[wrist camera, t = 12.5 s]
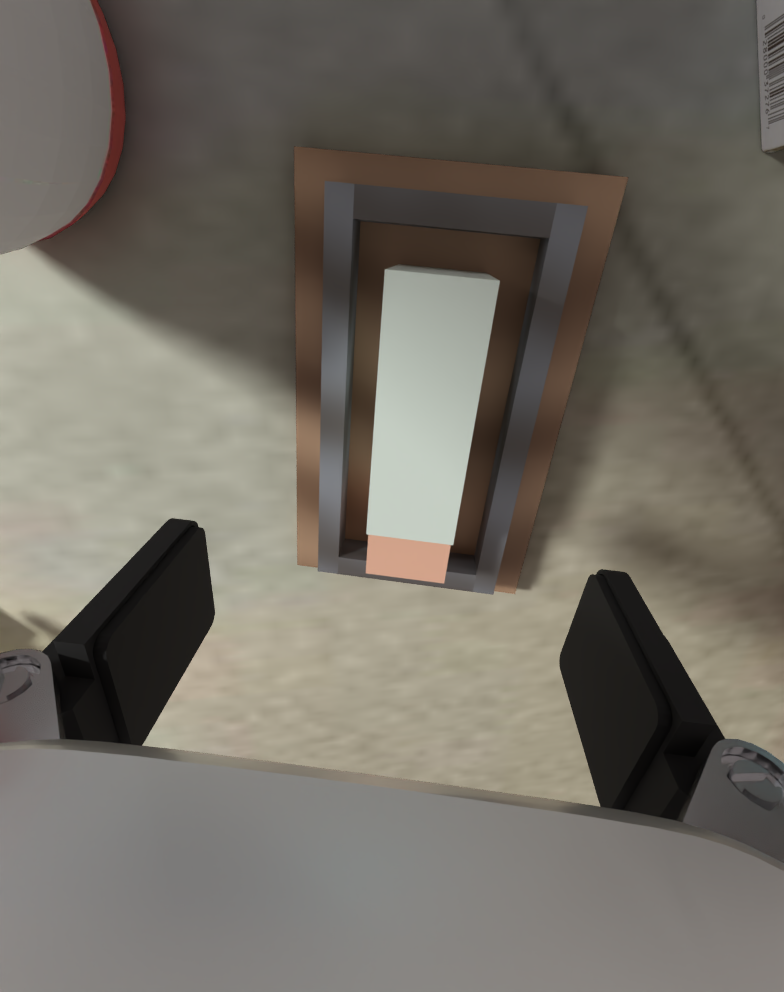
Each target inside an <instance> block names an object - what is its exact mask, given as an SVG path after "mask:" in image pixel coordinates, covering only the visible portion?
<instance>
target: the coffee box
mask: <svg viewBox="0 0 784 992" xmlns="http://www.w3.org/2000/svg"><path fill="white" fill-rule="evenodd" d="M756 5H757V34H758V62H759V89H760V118H761V141H762V151H764V152H765V153H773V152H776V151H780V150H783V149H784V0H756Z"/></svg>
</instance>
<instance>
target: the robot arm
mask: <svg viewBox="0 0 784 992" xmlns="http://www.w3.org/2000/svg"><path fill="white" fill-rule="evenodd" d="M214 615H215V608H214V600H213V593H212V585H211V577H210V569H209V561H208V553H207V545H206V537H205V531H204V529H203V528H199V527H198V524H197V522H195V521H190V520H182V519H173V518H172V519H169V520H168V521H167V522H166V523H165V524H164V525H163V526H162V527H161V528H160V529H159V530H158V531H157V532H156V533H155V534H154V535H153V536H152V537H151V538H150V540H149V541H148V542H147V543H146V544H145V545H144V546H143V547H142V548H141V549H140V550H139V551H138V552H137V553H136V554H135V555H134V556H133V557H132V558H131V559H130V561H129V562H128V563H127V564H126V565H125V566H124V567H123V568H122V569H121V570H120V571H119V572H118V573H117V574H116V575H115V576H114V577H113V578H112V579H111V580H110V581H109V582H108V583H107V584H106V586H105V587H104V588H103V589H102V590H101V591H100V592H99V593H98V594H97V595H96V596H95V597H94V598H93V599H92V600H91V601H90V602H89V603H88V604H87V605H86V606H85V608H84V609H83V610H82V611H81V612H80V613H79V614H78V615H77V616H76V617H75V618H74V619H73V620H72V621H71V622H70V623H69V624H68V625H67V626H66V627H65V628H64V630H63V631H62V632H61V633H60V634H59V635H58V636H57V637H56V638H55V639H54V640H53V641H52V642H51V643H50V644H49V645H48V646H47V647H46V648H45V649H44V651H43V652H41V651H38V650H33V649H16V650H12V651H8V652H4V653H0V992H784V764H783V763H782V762H781V761H780V760H779V759H777V758H776V757H774V756H773V755H772V754H770V753H769V752H767V751H766V750H764V749H762V748H760V747H758V746H756V745H754V744H752V743H749V742H745V741H742V740H739V739H725V738H724V736H723V734H722V733H721V731H720V729H719V727H718V726H717V724H716V722H715V720H714V719H713V717H712V715H711V714H710V712H709V710H708V708H707V707H706V705H705V703H704V702H703V700H702V698H701V696H700V695H699V693H698V691H697V690H696V688H695V686H694V684H693V683H692V681H691V679H690V678H689V676H688V674H687V672H686V671H685V669H684V667H683V666H682V664H681V662H680V660H679V659H678V657H677V655H676V654H675V652H674V650H673V648H672V647H671V645H670V643H669V642H668V640H667V639H666V637H665V636H664V635H663V633H662V632H661V630H660V628H659V626H658V625H657V623H656V621H655V619H654V618H653V616H652V614H651V613H650V611H649V609H648V607H647V606H646V604H645V602H644V600H643V599H642V597H641V595H640V594H639V592H638V590H637V588H636V587H635V585H634V583H633V582H632V580H631V578H630V576H629V575H628V574H627V573H625V572H620V571H611V570H603V569H601V570H599V571H598V572H597V574H596V575H593V574H592V575H590V576H589V578H588V580H587V583H586V586H585V589H584V591H583V594H582V597H581V599H580V602H579V605H578V608H577V610H576V613H575V616H574V618H573V621H572V624H571V627H570V629H569V632H568V635H567V637H566V640H565V643H564V646H563V648H562V651H561V654H560V670H561V673H562V677H563V680H564V684H565V687H566V691H567V694H568V697H569V701H570V704H571V708H572V711H573V714H574V718H575V721H576V725H577V728H578V732H579V735H580V738H581V742H582V745H583V749H584V752H585V755H586V759H587V762H588V766H589V769H590V773H591V776H592V779H593V783H594V786H595V790H596V793H597V796H598V800H599V803H600V806H601V807H598V806H592V805H585V804H579V803H572V802H566V801H560V800H553V799H546V798H538V797H531V796H524V795H517V794H509V793H502V792H495V791H488V790H481V789H473V788H466V787H459V786H452V785H444V784H437V783H430V782H422V781H415V780H407V779H400V778H392V777H385V776H377V775H370V774H362V773H355V772H347V771H340V770H332V769H324V768H317V767H309V766H302V765H294V764H286V763H278V762H271V761H263V760H255V759H247V758H239V757H231V756H223V755H215V754H208V753H200V752H192V751H184V750H176V749H167V748H158V747H148V746H142V744H143V743H144V741H145V740H146V738H147V736H148V734H149V733H150V731H151V729H152V727H153V726H154V724H155V722H156V721H157V719H158V717H159V715H160V714H161V712H162V710H163V709H164V707H165V705H166V703H167V702H168V700H169V698H170V696H171V695H172V693H173V691H174V690H175V688H176V686H177V684H178V683H179V681H180V679H181V677H182V676H183V674H184V672H185V671H186V669H187V667H188V665H189V664H190V662H191V660H192V658H193V657H194V655H195V653H196V652H197V650H198V648H199V646H200V645H201V643H202V641H203V639H204V638H205V636H206V634H207V633H208V631H209V629H210V627H211V625H212V623H213V620H214Z"/></svg>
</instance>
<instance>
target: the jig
mask: <svg viewBox="0 0 784 992" xmlns="http://www.w3.org/2000/svg"><path fill="white" fill-rule="evenodd" d="M627 180H628V177H620V176H610V175H599V174H588V173H577V172H566V171H555V170H545V169H534V168H523V167H512V166H501V165H491V164H480V163H469V162H458V161H447V160H436V159H426V158H415V157H404V156H393V155H382V154H372V153H361V152H350V151H339V150H328V149H317V148H307V147H296V146H294V196H295V319H296V441H297V564H298V565H302V566H310V567H317V568H318V571H321V572H328V573H336V574H343V575H351V576H358V577H366V578H373V579H381V580H388V581H396V582H403V583H411V584H418V585H426V586H433V587H441V588H448V589H456V590H463V591H471V592H478V593H486V594H493V593H494V591H498V592H505V593H513V594H515V591H516V588H517V584H518V580H519V577H520V573H521V569H522V566H523V562H524V558H525V555H526V551H527V547H528V544H529V540H530V536H531V533H532V529H533V525H534V522H535V518H536V514H537V511H538V507H539V503H540V500H541V496H542V492H543V489H544V485H545V481H546V478H547V474H548V470H549V467H550V463H551V459H552V456H553V452H554V448H555V445H556V441H557V437H558V434H559V430H560V426H561V423H562V419H563V415H564V412H565V408H566V404H567V401H568V397H569V393H570V390H571V386H572V382H573V379H574V375H575V371H576V368H577V364H578V360H579V357H580V353H581V349H582V346H583V342H584V338H585V335H586V331H587V327H588V324H589V320H590V316H591V313H592V309H593V305H594V302H595V298H596V294H597V291H598V287H599V283H600V280H601V276H602V272H603V269H604V265H605V261H606V258H607V254H608V250H609V246H610V243H611V239H612V235H613V232H614V228H615V224H616V221H617V217H618V213H619V210H620V206H621V202H622V199H623V195H624V191H625V188H626V184H627ZM399 264H402V265H412V266H422V267H432V268H442V269H452V270H462V271H473V272H483V273H487V274H489V275H491V276H493V277H494V278H496V279H498V280H500V283H499V289H498V295H497V300H496V306H495V312H494V317H493V323H492V329H491V334H490V340H489V346H488V351H487V357H486V363H485V368H484V374H483V380H482V385H481V391H480V396H479V402H478V408H477V413H476V419H475V425H474V430H473V436H472V442H471V447H470V453H469V459H468V464H467V470H466V476H465V481H464V487H463V493H462V498H461V504H460V510H459V515H458V521H457V526H456V532H455V538H454V543H453V545H451V547H450V553H449V558H448V564H447V570H446V576H445V581H444V583H436V582H428V581H421V580H413V579H405V578H398V577H390V576H382V575H375V574H367V573H366V561H367V547H368V534H366V530H367V516H368V502H369V488H370V473H371V459H372V445H373V431H374V416H375V402H376V388H377V374H378V360H379V345H380V331H381V317H382V303H383V288H384V274H385V269H387V268H390V267H393V266H396V265H399Z"/></svg>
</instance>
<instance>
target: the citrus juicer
mask: <svg viewBox="0 0 784 992" xmlns="http://www.w3.org/2000/svg"><path fill="white" fill-rule="evenodd" d="M125 119H126V117H125V101H124V86H123V80H122V76H121V71H120V66H119V61H118V57H117V52H116V48H115V45H114V43H113V40H112V37H111V34H110V31H109V28H108V26H107V23H106V20H105V17H104V14H103V12H102V10H101V8H100V6H99V4H98V1H97V0H0V254H4V253H7V252H11V251H15V250H18V249H22V248H24V247H26V246H28V245H30V244H32V243H34V242H37V241H41V240H44V239H48V238H51V237H53V236H55V235H56V234H58V233H60V232H61V231H63V230H64V229H66V228H68V227H69V226H71V225H73V224H74V223H75V222H76V221H78V220H79V219H80V218H81V217H82V216H83V215H85V214H86V213H87V212H88V211H89V210H90V209H91V207H92V206H93V205H94V204H95V203H96V202H97V201H98V200H99V199H100V198H101V197H102V196H103V194H104V193H105V191H106V189H107V188H108V186H109V184H110V182H111V180H112V178H113V176H114V175H115V173H116V169H117V166H118V162H119V159H120V155H121V152H122V148H123V140H124V129H125Z"/></svg>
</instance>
